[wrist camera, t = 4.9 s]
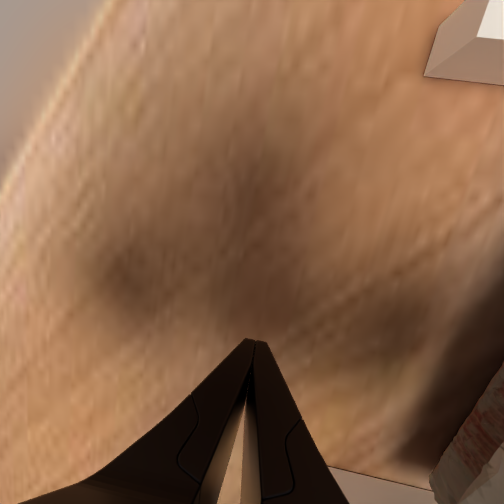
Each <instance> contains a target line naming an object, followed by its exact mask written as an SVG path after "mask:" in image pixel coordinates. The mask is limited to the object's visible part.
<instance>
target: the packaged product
mask: <svg viewBox="0 0 504 504" xmlns="http://www.w3.org/2000/svg"><path fill="white" fill-rule="evenodd" d="M429 483H430V486H431V488H432V490H433V492H434V500H435V501H436V502H437V503H438V504H504V361H503V364H502V366H501V368H500V369H499V370H498V372H497V373H496V374H495V376H494V377H493V378H492V380H491V381H490V383H489V384H488V386H487V388H486V390H485V392H484V393H483V395H482V396H481V397H480V398H479V400H478V401H477V403H476V405H475V407H474V408H473V410H472V412H471V414H470V415H469V416H468V417H467V418H466V420H465V422H464V423H463V424H462V426H461V427H460V429H459V431H458V433H457V435H456V436H455V437H454V438H453V441H451V443H450V444H449V446H448V447H447V449H446V450H445V451H444V453H443V455H442V456H441V458H440V461H439V463H438V464H437V466H436V467H435V469H434V471H433V472H432V473H431V474H430V475H429Z"/></svg>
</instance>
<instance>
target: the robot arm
mask: <svg viewBox="0 0 504 504" xmlns="http://www.w3.org/2000/svg"><path fill="white" fill-rule="evenodd" d="M255 343H256V344H255ZM254 349H255V350H254ZM253 355H254V356H253ZM252 361H253V362H252ZM251 367H252V368H251ZM250 373H251V374H250ZM249 379H250V380H249ZM248 385H249V386H248ZM247 391H248V392H247ZM246 397H247V398H246ZM245 402H246V405H245ZM244 406H245V421H244V441H243V461H242V480H241V500H240V504H350V503H349V502H348V500H347V498H346V497H345V495H344V493H343V492H342V490H341V488H340V487H339V485H338V483H337V482H336V480H335V478H334V477H333V475H332V473H331V472H330V470H329V468H328V466H327V465H326V463H325V461H324V459H323V458H322V456H321V454H320V452H319V451H318V449H317V447H316V445H315V443H314V441H313V439H312V437H311V435H310V433H309V431H308V429H307V427H306V424H305V422H304V420H303V419H302V416H301V414H300V412H299V410H298V408H297V405H296V403H295V401H294V399H293V397H292V395H291V393H290V390H289V388H288V386H287V384H286V382H285V380H284V378H283V376H282V373H281V371H280V369H279V367H278V365H277V363H276V361H275V358H274V356H273V354H272V352H271V350H270V348H269V346H268V344H267V342H263V341H258V340H257V341H255V340H253V339H248V338H245V339H244V340H243V341H242V342H241V343H240V344H239V345H238V346H237V347H236V348H235V349H234V350H233V351H232V352H231V353H230V354H229V355H228V356H227V357H226V358H225V359H224V360H223V361H222V362H221V363H220V364H219V365H218V366H217V367H216V368H215V369H214V370H213V371H212V372H211V373H210V374H209V375H208V376H207V377H206V378H205V379H204V380H203V381H202V382H201V383H200V384H199V385H198V386H197V387H196V388H195V389H194V390H193V391H192V392H191V395H190V394H189V395H188V396H187V397H186V398H185V399H184V400H183V401H182V402H181V403H180V404H179V405H178V406H177V407H176V408H175V409H174V410H173V411H172V412H171V413H170V414H169V415H168V416H166V417H165V418H164V419H163V420H162V421H160V422H159V423H158V424H157V425H156V426H154V427H153V428H152V429H151V430H150V431H148V432H147V433H146V434H145V435H143V436H142V437H141V438H140V439H138V440H137V441H136V442H135V443H134V444H132V445H131V446H130V447H129V448H127V449H126V450H125V451H124V452H122V453H121V454H120V455H119V456H117V457H116V458H115V459H114V460H112V461H111V462H110V463H109V464H107V465H106V466H105V467H103V468H102V469H101V470H99V471H98V472H96V473H95V474H93V475H91V476H90V477H88V478H86V479H84V480H82V481H80V482H78V483H76V484H73V485H70V486H67V487H64V488H62V489H59V490H56V491H53V492H50V493H47V494H44V495H41V496H38V497H36V498H33V499H30V500H27V501H24V502H21V503H18V504H217V500H218V497H219V493H220V490H221V487H222V483H223V480H224V476H225V473H226V469H227V466H228V462H229V459H230V455H231V452H232V448H233V445H234V442H235V438H236V435H237V431H238V428H239V424H240V421H241V417H242V414H243V410H244Z"/></svg>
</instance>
